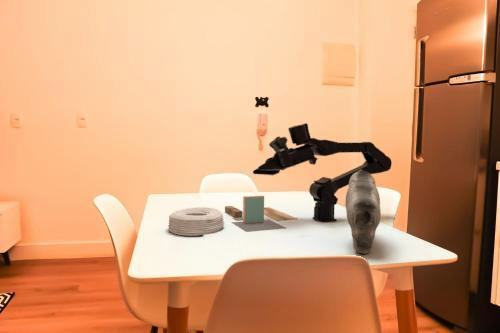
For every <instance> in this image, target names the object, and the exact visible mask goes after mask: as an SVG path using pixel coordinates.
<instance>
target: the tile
mask: <svg viewBox="0 0 500 333" xmlns="http://www.w3.org/2000/svg"><path fill="white" fill-rule="evenodd" d="M242 197H243V199H242V207H243V208H242V211H243V220H242V221H243V223H244V224H250V223H262V222H264V220H265V215H264V208H265V195H249V196H248V195H247V196H246V195H245V196H242Z"/></svg>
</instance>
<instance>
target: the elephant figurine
mask: <svg viewBox="0 0 500 333" xmlns="http://www.w3.org/2000/svg"><path fill="white" fill-rule="evenodd" d="M345 211H346V219H347V222H348V224H349V227H350V229H351V230H350V231H351V238H352V247H353V250H355V252H356V253H358V254H361V253H362V254H363V255H366V254H369V253H371V251H372V249H373V247H374V246H373V245H374V241H375V236H376V231H377V228H378V226H379V224H380V223H381V198H380V193H379V191H378V188H377V185H376V180H375V178H374V176H373V174H370V173H368V172H366V171H363V170H362V169H361V170H359V171H358V172H356V173H354V174H353V175H352V176H351V178H350V180H349V185H348V188H347V191H346V194H345Z"/></svg>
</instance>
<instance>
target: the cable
mask: <svg viewBox="0 0 500 333" xmlns="http://www.w3.org/2000/svg"><path fill="white" fill-rule="evenodd" d="M224 225H225V220H224V216H223V212H222V211H221V210H220V209H216V208H214V207H203V206H202V207H201V206H197V207H189V208H183V209H182V208H181V209H179V210H174V211H173V212H171V213H170V214H169V215H168V226H167V228H168V230H169V231H170V232H171V233H172V234H176V235H179V236H189V237H190V236H193V237H194V236H195V237H196V236H203V235H208V234H214V233H217V232H219V231H221V230H222V228H224Z"/></svg>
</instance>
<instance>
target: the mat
mask: <svg viewBox="0 0 500 333" xmlns="http://www.w3.org/2000/svg"><path fill="white" fill-rule="evenodd" d="M231 224H233V225H234V226H236V227H237V228H239V229H241V230H242V231H244V232H246V233H250V232H259V231H260V232H262V231H270V230H271V231H273V230H283V229H287V227H286V226H283V225H281V224H280V223H277V222H275V221H273V220H271V219H270V218H269V219H264V222H262V223H250V224H244V223H243V220H242V221H232V222H231Z"/></svg>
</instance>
